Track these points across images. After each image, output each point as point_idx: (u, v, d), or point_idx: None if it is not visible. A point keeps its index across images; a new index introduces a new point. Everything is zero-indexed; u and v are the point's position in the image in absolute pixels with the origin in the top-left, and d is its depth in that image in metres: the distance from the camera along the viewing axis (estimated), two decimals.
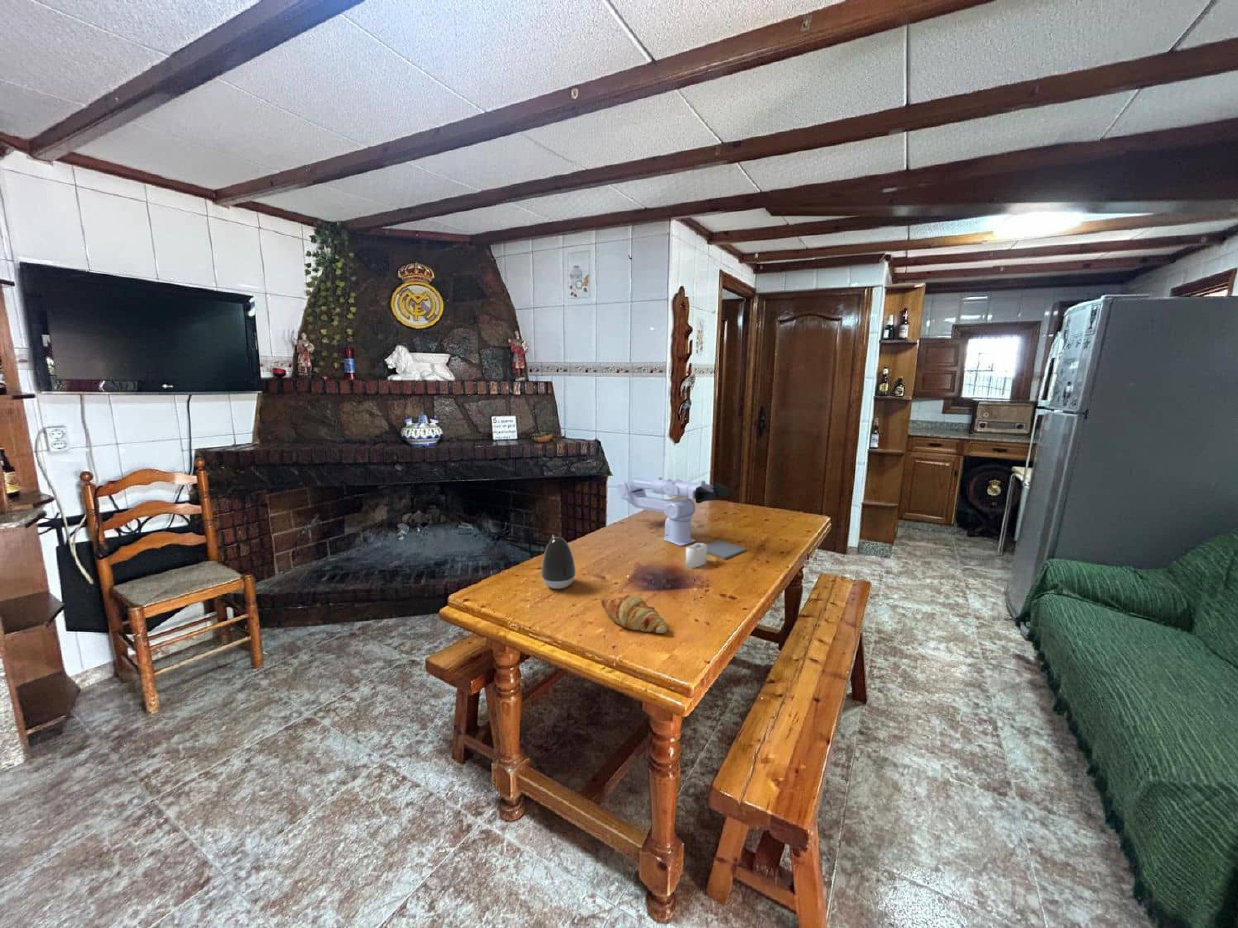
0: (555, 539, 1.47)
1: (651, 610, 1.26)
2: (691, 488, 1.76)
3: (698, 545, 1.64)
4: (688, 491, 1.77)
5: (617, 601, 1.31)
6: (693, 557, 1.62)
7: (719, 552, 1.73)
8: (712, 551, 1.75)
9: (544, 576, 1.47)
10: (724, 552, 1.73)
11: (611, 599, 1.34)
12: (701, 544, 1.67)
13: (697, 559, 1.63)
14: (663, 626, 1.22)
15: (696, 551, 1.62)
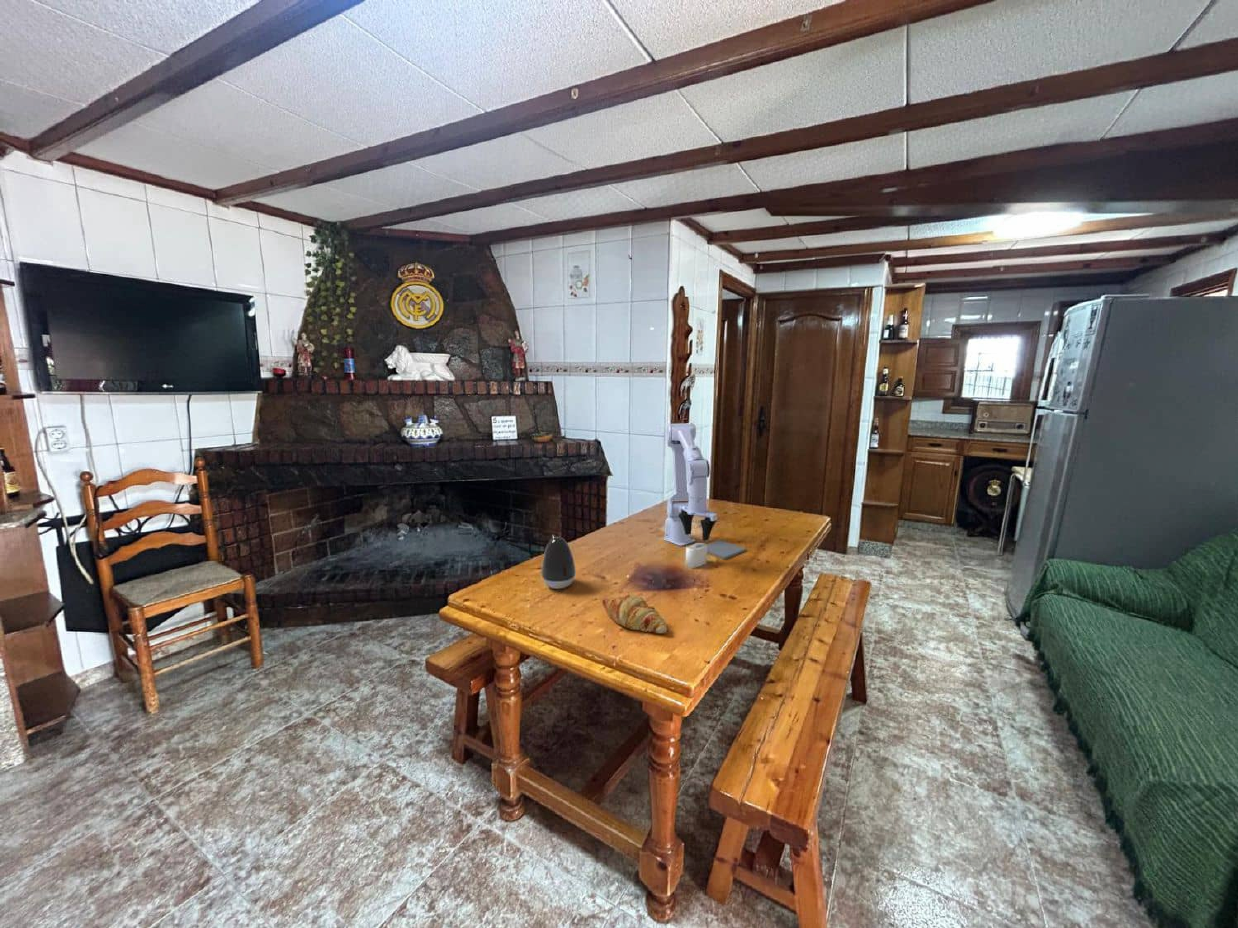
0: (555, 539, 1.47)
1: (651, 610, 1.26)
2: None
3: (698, 545, 1.64)
4: None
5: (618, 601, 1.31)
6: (693, 557, 1.62)
7: (719, 552, 1.73)
8: (712, 551, 1.75)
9: (544, 576, 1.47)
10: (724, 552, 1.73)
11: (612, 599, 1.34)
12: (701, 544, 1.67)
13: (697, 559, 1.63)
14: (663, 626, 1.22)
15: (696, 551, 1.62)
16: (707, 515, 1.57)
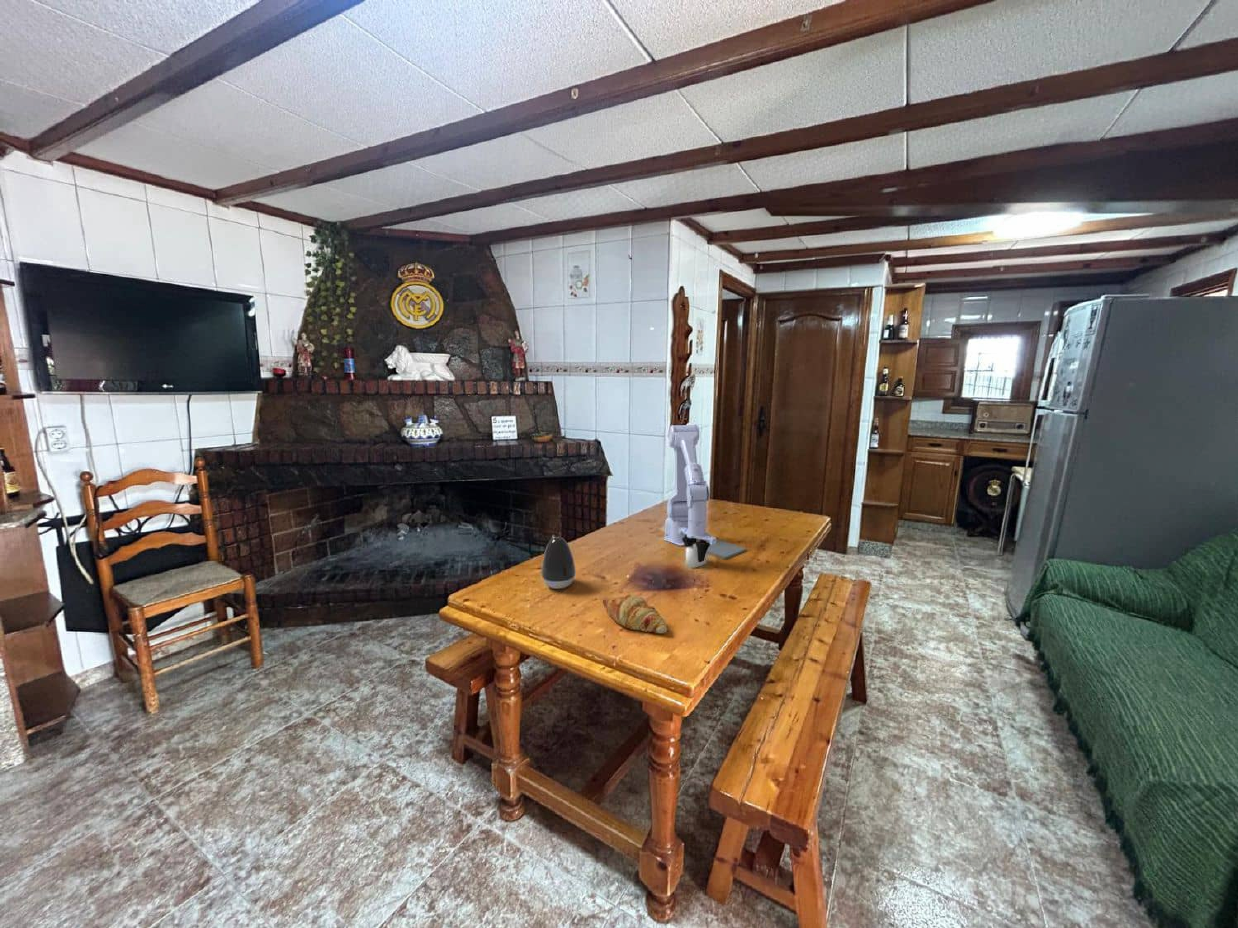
0: (555, 539, 1.47)
1: (651, 610, 1.26)
2: None
3: None
4: None
5: (618, 601, 1.31)
6: (693, 557, 1.62)
7: (719, 552, 1.73)
8: (712, 551, 1.75)
9: (544, 576, 1.47)
10: (724, 552, 1.73)
11: (612, 599, 1.34)
12: None
13: (697, 559, 1.63)
14: (663, 626, 1.22)
15: (696, 551, 1.62)
16: (706, 539, 1.59)
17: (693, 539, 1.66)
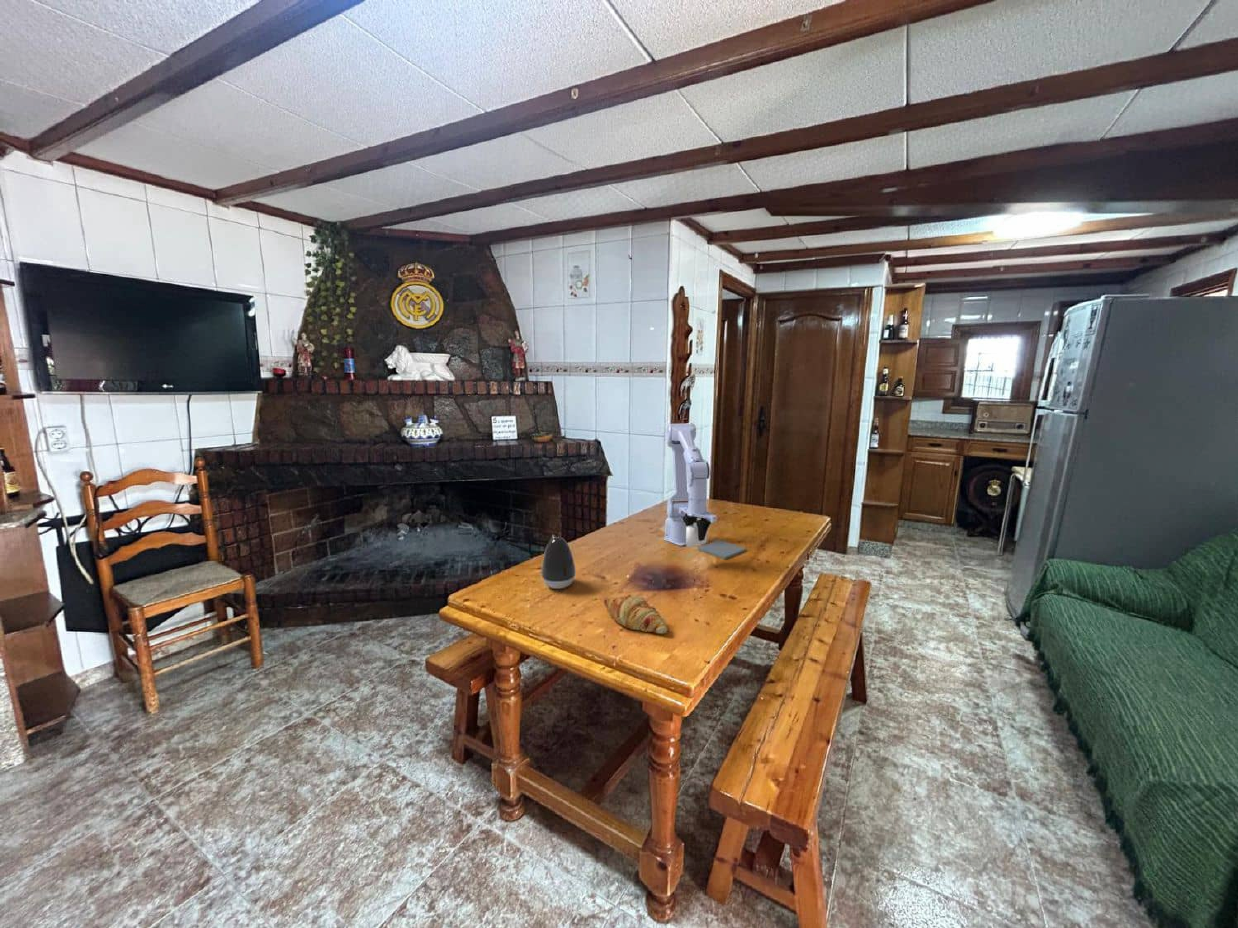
0: (555, 539, 1.47)
1: (652, 610, 1.26)
2: None
3: None
4: None
5: (619, 600, 1.31)
6: (693, 536, 1.60)
7: (719, 552, 1.73)
8: (712, 551, 1.75)
9: (544, 576, 1.47)
10: (724, 552, 1.73)
11: (613, 598, 1.34)
12: None
13: (698, 538, 1.62)
14: (663, 627, 1.22)
15: (696, 530, 1.61)
16: (707, 517, 1.58)
17: (693, 518, 1.65)
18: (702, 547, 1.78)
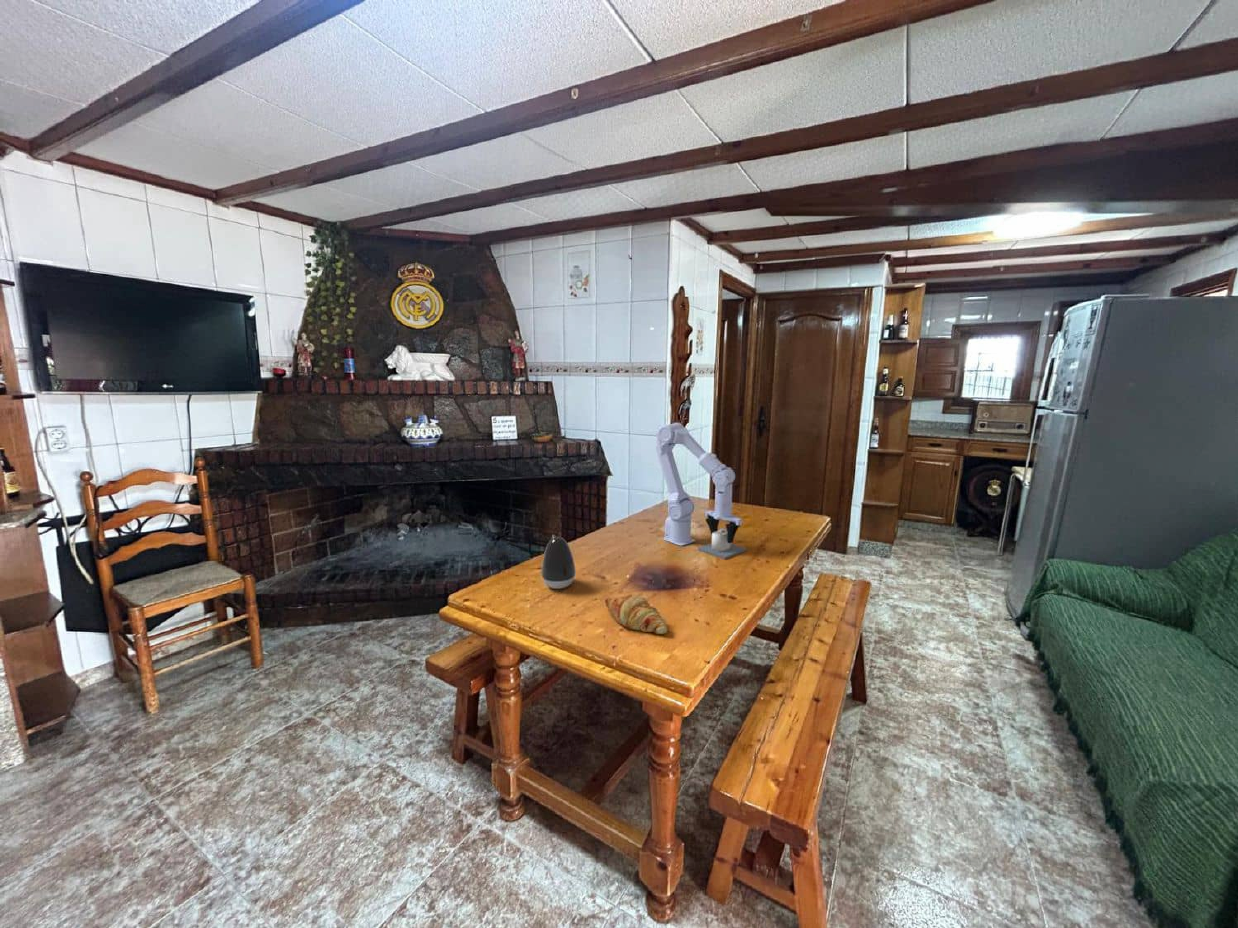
0: (555, 539, 1.47)
1: (652, 610, 1.26)
2: None
3: (723, 530, 1.76)
4: None
5: (619, 600, 1.31)
6: (719, 541, 1.73)
7: (719, 552, 1.73)
8: (712, 551, 1.75)
9: (544, 576, 1.47)
10: (724, 552, 1.73)
11: (614, 598, 1.34)
12: (726, 530, 1.78)
13: (723, 543, 1.74)
14: (663, 627, 1.22)
15: (722, 536, 1.73)
16: (733, 520, 1.70)
17: (716, 520, 1.78)
18: (702, 547, 1.78)
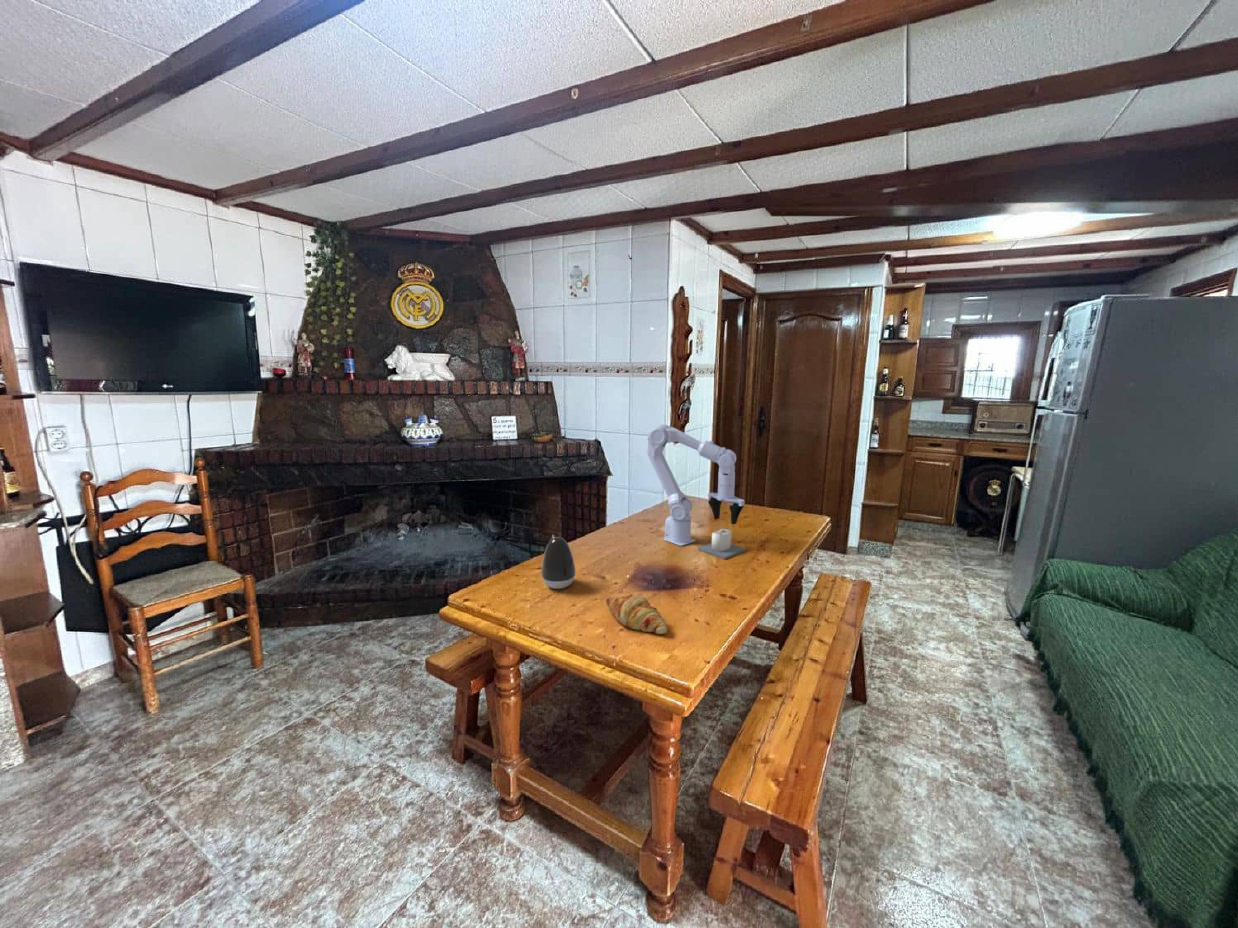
0: (555, 539, 1.47)
1: (653, 610, 1.26)
2: None
3: (723, 530, 1.76)
4: None
5: (620, 600, 1.31)
6: (719, 541, 1.73)
7: (719, 552, 1.73)
8: (712, 551, 1.75)
9: (544, 576, 1.47)
10: (724, 552, 1.73)
11: (615, 598, 1.34)
12: (726, 530, 1.78)
13: (723, 543, 1.74)
14: (663, 627, 1.22)
15: (722, 536, 1.73)
16: (735, 501, 1.73)
17: (718, 502, 1.82)
18: (702, 547, 1.78)
